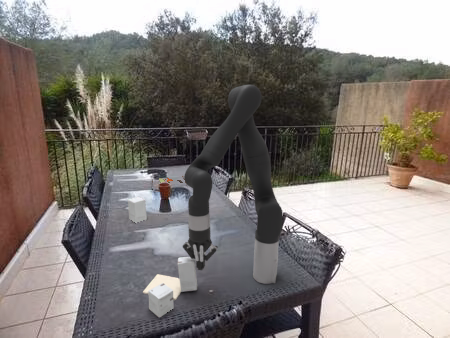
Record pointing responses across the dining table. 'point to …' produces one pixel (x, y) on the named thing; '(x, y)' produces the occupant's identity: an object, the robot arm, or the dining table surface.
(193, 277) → the skincare box
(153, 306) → the skincare box
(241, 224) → the dining table surface
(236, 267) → the dining table surface
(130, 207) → the supplement box
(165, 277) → the mat
